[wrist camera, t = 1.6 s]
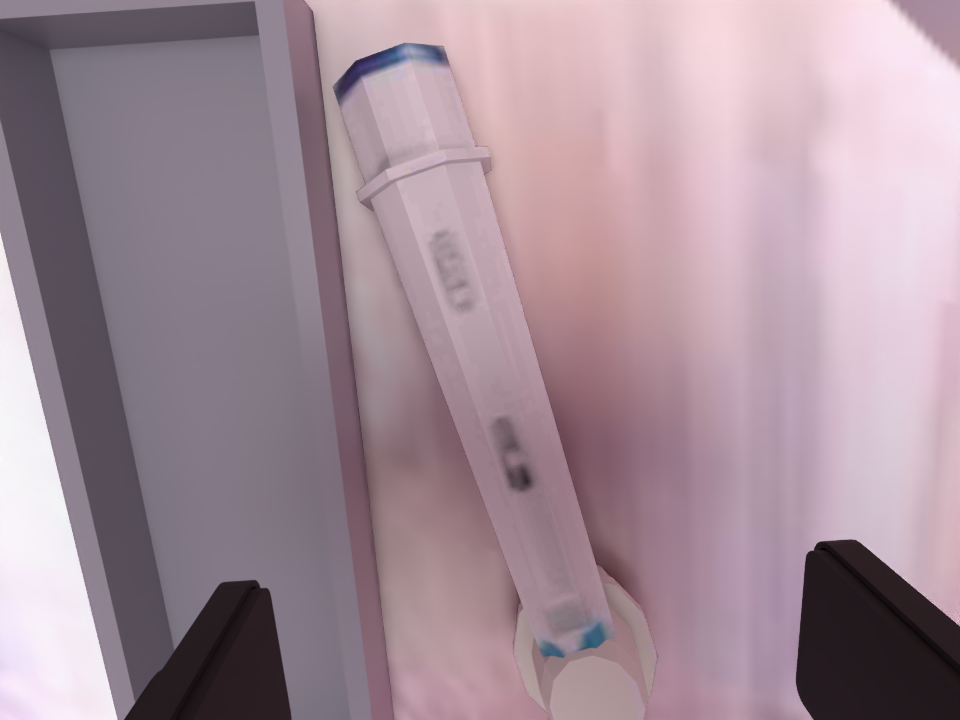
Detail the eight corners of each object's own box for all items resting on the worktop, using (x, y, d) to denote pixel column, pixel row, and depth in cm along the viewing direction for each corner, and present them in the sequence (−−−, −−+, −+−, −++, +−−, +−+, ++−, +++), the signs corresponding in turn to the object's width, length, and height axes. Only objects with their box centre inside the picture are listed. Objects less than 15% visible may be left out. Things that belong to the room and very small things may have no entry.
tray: (395, 734, 27) (383, 808, 23) (185, 745, 27) (142, 821, 23) (312, 11, 20) (278, -33, 17) (33, 30, 20) (-58, -9, 17)
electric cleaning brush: (464, 14, 17) (710, 797, 19) (476, 97, 23) (657, 667, 25) (293, 77, 17) (552, 838, 19) (353, 140, 24) (540, 700, 26)
